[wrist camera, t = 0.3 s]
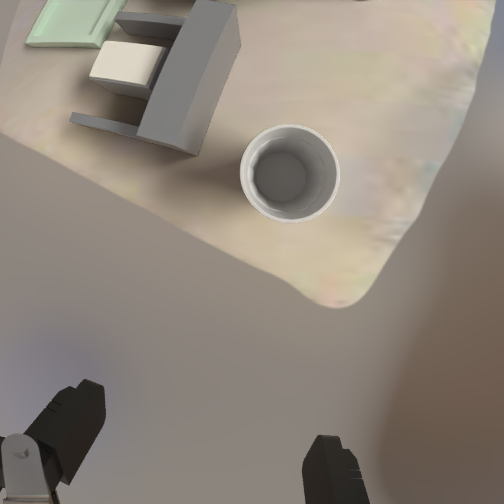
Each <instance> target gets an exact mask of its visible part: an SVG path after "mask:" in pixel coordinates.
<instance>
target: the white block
mask: <svg viewBox="0 0 504 504" xmlns="http://www.w3.org/2000/svg"><path fill="white" fill-rule="evenodd" d="M169 53H170V52H169V50H168V49H167V48H166V47H160V46H153V45H145V44H137V43H127V42H116V41H105V42H104V44H103V46H102V48H101V50H100V52H99V54H98V56H97V59H96V61H95V63H94V65H93V68H92V70H91V72H90V75H89V79H90V80H92V81H94V82H95V83H97V84H99V85H101V86H102V87H104V88H106V89H108V90H109V91H111V92H113V93H115V94H120V95H126V96H131V97H136V98H141V99H145V100H149V99H150V97H151V94H152V92H153V89H154V87H155V84H156V82H157V80H158V77H159V75H160V73H161V70H162V68H163V66H164V63H165V61H166V59H167V57H168V55H169Z"/></svg>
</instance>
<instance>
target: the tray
mask: <svg viewBox="0 0 504 504" xmlns="http://www.w3.org/2000/svg"><path fill="white" fill-rule="evenodd" d="M126 2H127V0H48V1H47V3H46V5H45V6H44V8H43V10H42V12H41V13H40V15H39V17H38V19H37V21H36V23H35V24H34V26H33V28H32V30H31V32H30V34H29V36H28V38H27V40H26V42H25V43H26V44H28V45H30V46H32V47H80V48H97V49H101V48H102V46H103V44H104V42H105V41H106V39H107V37H108V35H109V33H110V31H111V29H112V27H113V25H114V23H115V20H114V18H115V16H116V14H117V12H121V10H122V9H123V7H124V5H125V4H126Z"/></svg>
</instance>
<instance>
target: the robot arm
mask: <svg viewBox="0 0 504 504" xmlns="http://www.w3.org/2000/svg"><path fill="white" fill-rule="evenodd" d="M105 418H106V408H105V393H104V387H103V386H102V385H100V384H97V383H95V382H92V381H90V380H87V379H84V380H83V381H82V382H81V383H80V384H79V385H78V387H77V388H76V389H75V388H73V387H71V386H69V387H67V388H65V389H63V390H61V391H59V392H58V393H57V394H56V396H55V397H54V398H53V399H52V401H51V402H50V403H49V404H48V405H47V406H46V409H44V410H43V411H42V412H41V413H40V414H39V416H38V417H37V418H36V419H35V420H34V422H33V423H32V424H31V426H30V427H29V428H28V429H27V430H26V431H25V433H23V434H12V435H10V436H8V437H6V438H5V437H1V436H0V491H1V490H2V488H6V494H7V497H6V499H4V500H3V504H60V500H59V497H58V494H57V490H56V487H57V485H58V483H59V482H60V481H61V482H63V483H65V484H67V485H70V483H71V481H72V479H73V478H74V476H75V474H76V472H77V470H78V469H79V467H80V465H81V463H82V462H83V460H84V458H85V456H86V454H87V453H88V451H89V449H90V448H91V446H92V444H93V443H94V441H95V439H96V437H97V435H98V434H99V432H100V430H101V429H102V427H103V425H104V422H105ZM359 470H360V468H359V465H358V462H357V459H356V457H355V456H354V455H353V454H352V452H351V451H350V450H349V449H343V448H342V445H341V441H340V438H339V437H338V436H329V435H318V436H317V437H316V439H315V441H314V442H313V444H312V446H311V448H310V450H309V451H308V453H307V455H306V457H305V459H304V461H303V466H302V476H303V485H304V493H305V502H306V504H370V502H369V499H368V495H367V492H366V488H365V485H364V482H363V480H362V475H361V472H360V471H359Z"/></svg>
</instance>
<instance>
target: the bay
mask: <svg viewBox="0 0 504 504" xmlns="http://www.w3.org/2000/svg"><path fill="white" fill-rule="evenodd" d="M114 20H115V21H116V22H117V23H118V24H119V25H120V26H121V28H122V29H123V30H124V31H125V32H126V33H127V34H130V35H140V36H149V37H157V38H164V39H171V40H175V42H174V44H173V46H172V48H171V50H170V53H169V55H168V57H167V59H166V61H165V63H164V66H163V68H162V70H161V73H160V75H159V77H158V80H157V82H156V84H155V87H154V89H153V92H152V94H151V97H150V99H149V102H148V104H147V107H146V110H145V112H144V115H143V118H142V120H141V123H140V126H139V127H138V126H134V125H130V124H126V123H122V122H117V121H113V120H108V119H104V118H99V117H94V116H89V115H84V114H79V113H74V112H72V115H71V118H70V121H69V122H72V123H76V124H79V125H83V126H86V127H90V128H94V129H98V130H103V131H107V132H111V133H115V134H119V135H123V136H127V137H131V138H135V139H139V140H142V141H146V142H150V143H153V144H157V145H161V146H164V147H168V148H171V149H175V150H178V151H182V152H185V153H188V154H192V155H195V156H198V154H199V151H200V148H201V145H202V143H203V140H204V137H205V134H206V132H207V129H208V126H209V123H210V121H211V118H212V115H213V113H214V110H215V108H216V105H217V102H218V100H219V97H220V95H221V92H222V90H223V87H224V85H225V82H226V80H227V77H228V75H229V73H230V70H231V68H232V66H233V63H234V61H235V58H236V56H237V54H238V52H239V49H240V47H241V41H240V34H239V27H238V19H237V12H236V5H233V4H227V3H222V2H216V1H210V0H196V2H195V3H194V5H193V7H192V9H191V11H190V13H189V14H188V16H187V18H184V17H177V16H169V15H159V14H148V13H133V12H117V14H116V16H115V18H114Z"/></svg>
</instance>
